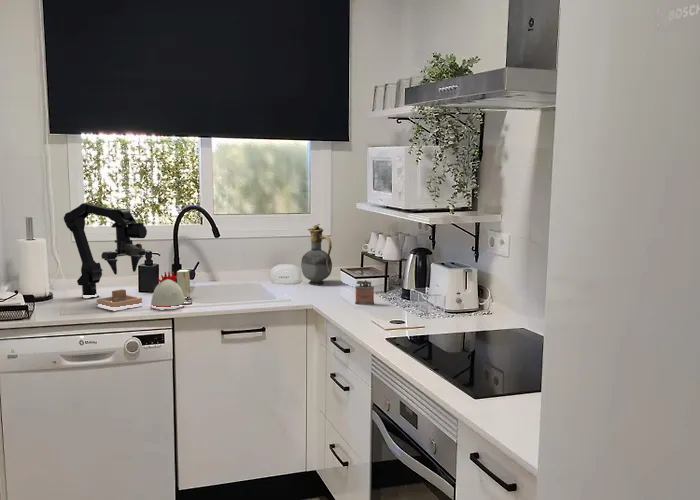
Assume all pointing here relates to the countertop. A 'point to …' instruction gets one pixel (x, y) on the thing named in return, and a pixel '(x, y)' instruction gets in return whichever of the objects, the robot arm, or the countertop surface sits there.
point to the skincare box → (184, 281)
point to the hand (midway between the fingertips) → (125, 273)
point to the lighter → (364, 293)
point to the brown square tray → (120, 301)
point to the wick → (118, 295)
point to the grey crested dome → (167, 292)
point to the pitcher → (317, 258)
